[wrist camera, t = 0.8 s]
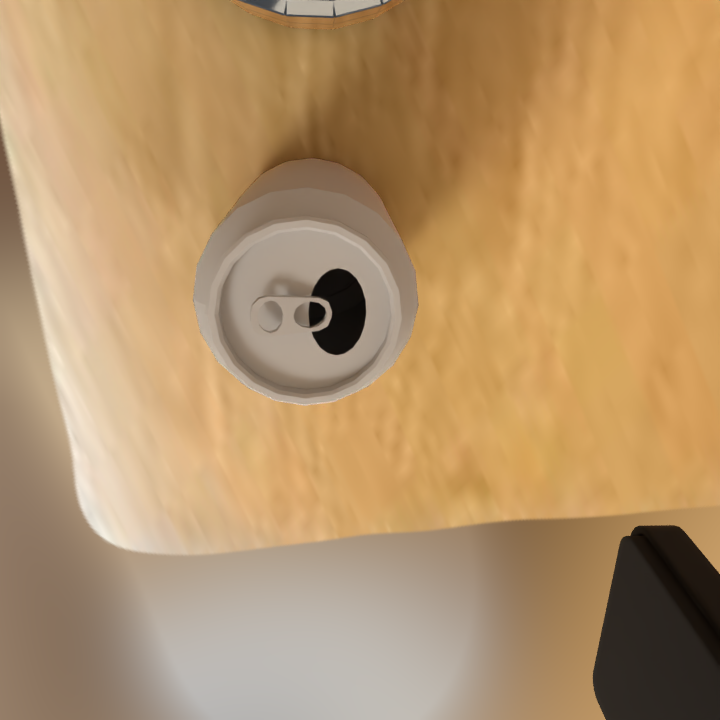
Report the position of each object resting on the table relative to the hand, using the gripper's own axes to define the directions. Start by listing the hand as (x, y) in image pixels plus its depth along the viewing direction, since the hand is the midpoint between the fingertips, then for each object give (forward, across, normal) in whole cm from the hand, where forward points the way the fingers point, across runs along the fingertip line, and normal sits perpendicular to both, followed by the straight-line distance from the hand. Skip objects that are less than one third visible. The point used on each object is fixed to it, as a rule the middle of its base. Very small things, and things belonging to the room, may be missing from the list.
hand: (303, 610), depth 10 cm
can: (+24, 0, -1) cm, 24 cm away
